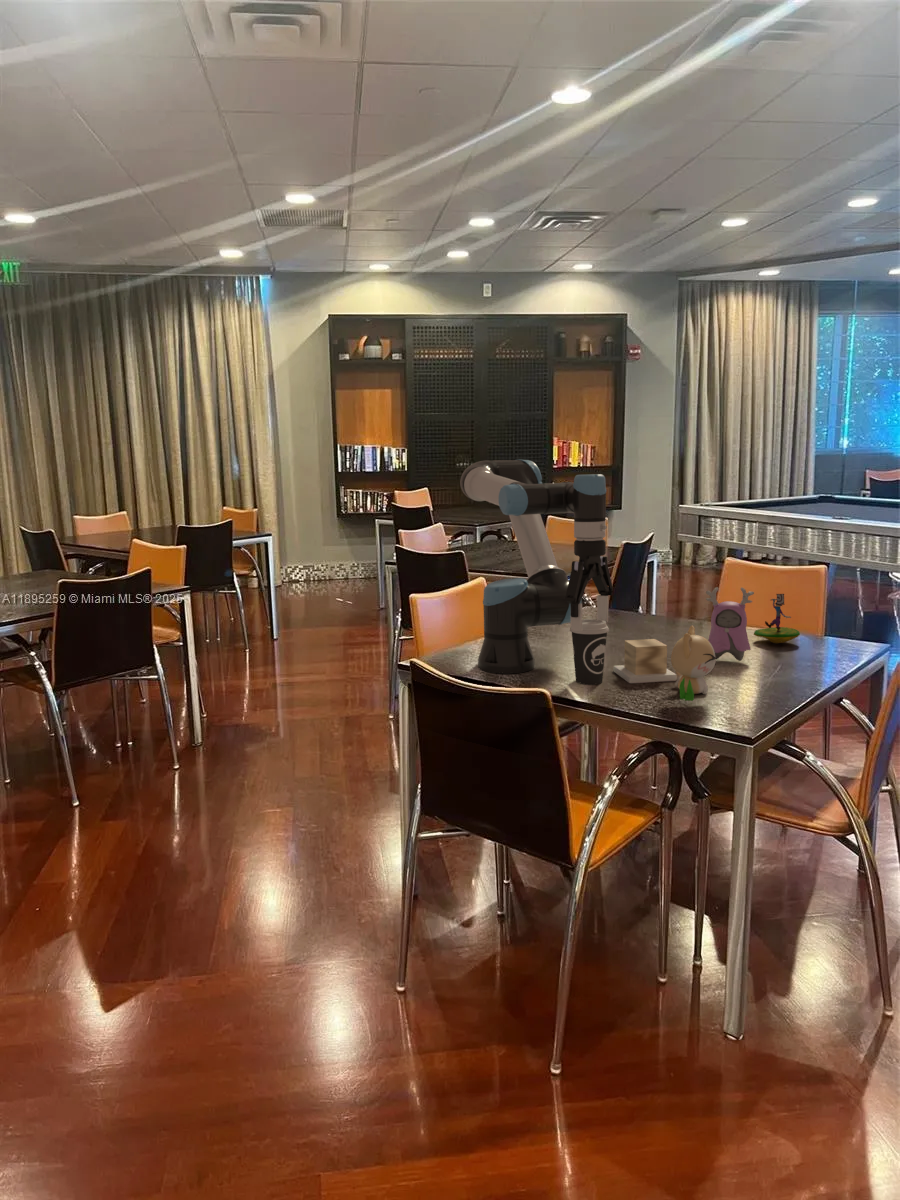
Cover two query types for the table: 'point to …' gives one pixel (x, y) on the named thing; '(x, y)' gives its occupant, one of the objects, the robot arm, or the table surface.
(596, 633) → the coffee cup
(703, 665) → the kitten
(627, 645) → the maple brick
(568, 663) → the table surface
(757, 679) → the table surface
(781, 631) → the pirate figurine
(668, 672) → the grey tile
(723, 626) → the toy character
